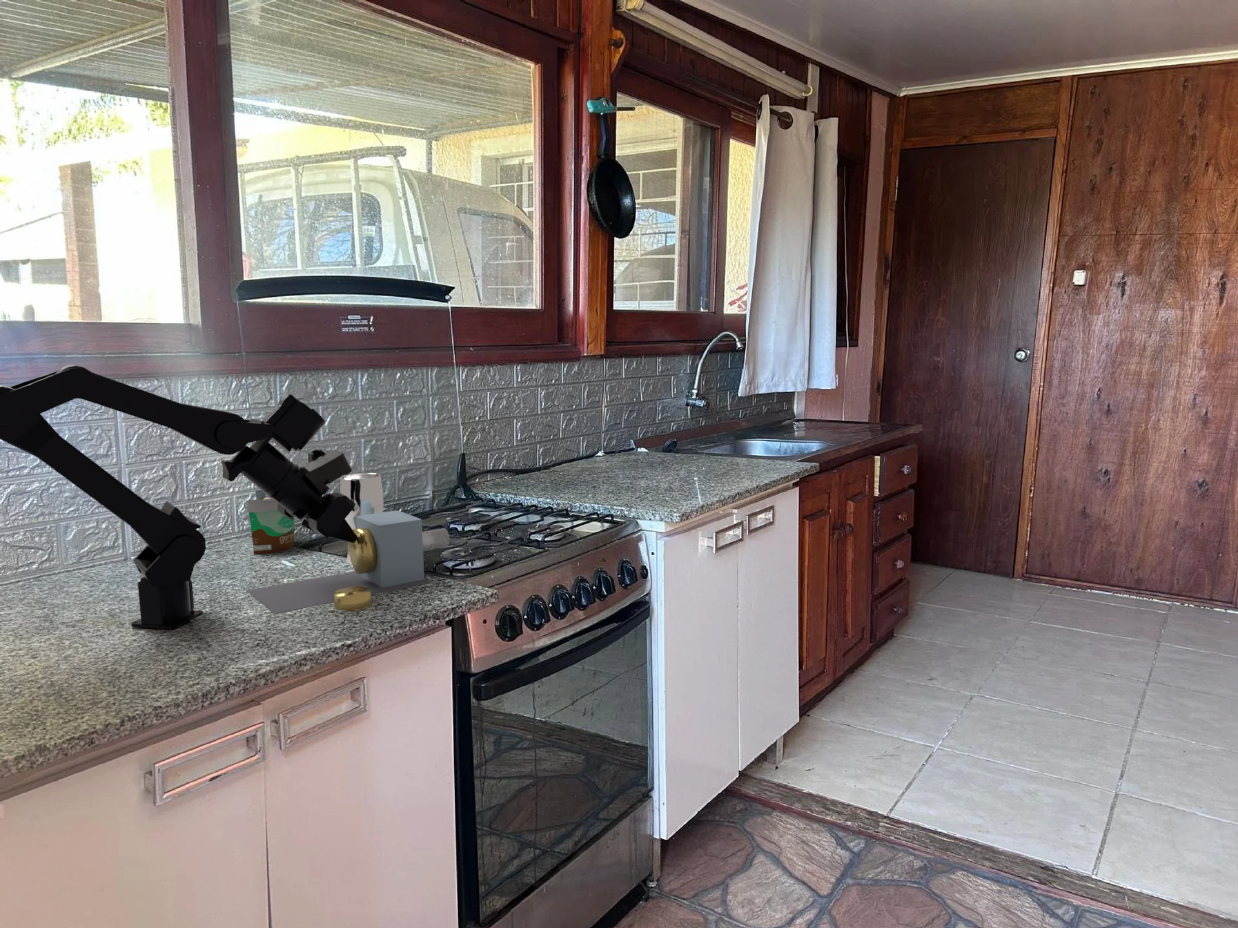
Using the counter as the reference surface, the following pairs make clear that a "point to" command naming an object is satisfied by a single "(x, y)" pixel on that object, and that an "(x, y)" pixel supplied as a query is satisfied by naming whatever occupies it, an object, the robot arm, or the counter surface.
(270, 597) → the mat
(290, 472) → the robot arm
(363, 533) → the shaft
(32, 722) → the counter surface
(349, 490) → the beer glass
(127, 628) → the counter surface
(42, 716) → the counter surface
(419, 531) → the bearing block
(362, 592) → the gold domed disc
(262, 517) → the food container
